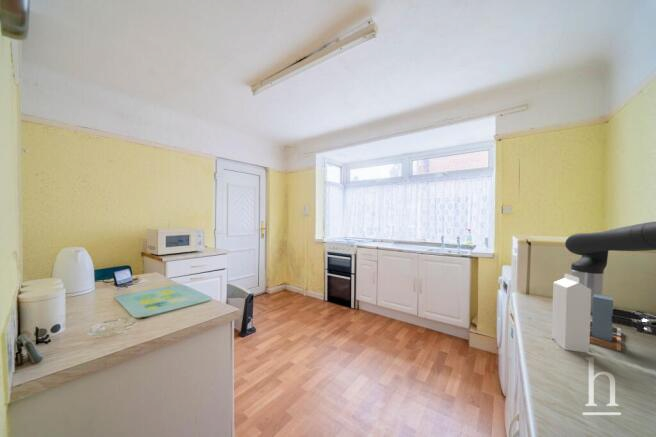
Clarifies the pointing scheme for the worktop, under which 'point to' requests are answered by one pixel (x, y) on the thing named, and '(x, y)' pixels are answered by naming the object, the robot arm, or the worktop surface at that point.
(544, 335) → the worktop surface
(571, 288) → the milk
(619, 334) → the socket board
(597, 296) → the post
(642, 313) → the robot arm
